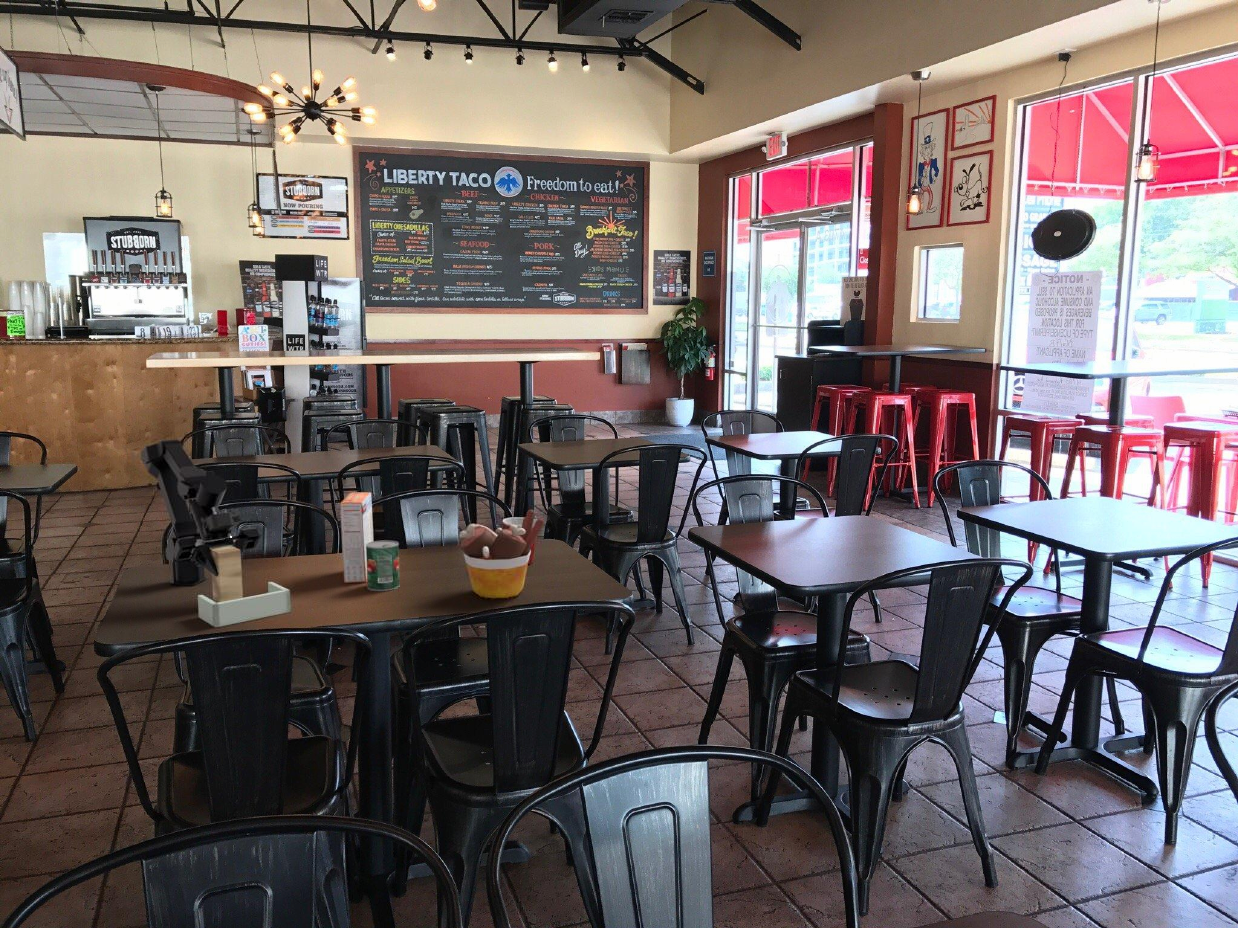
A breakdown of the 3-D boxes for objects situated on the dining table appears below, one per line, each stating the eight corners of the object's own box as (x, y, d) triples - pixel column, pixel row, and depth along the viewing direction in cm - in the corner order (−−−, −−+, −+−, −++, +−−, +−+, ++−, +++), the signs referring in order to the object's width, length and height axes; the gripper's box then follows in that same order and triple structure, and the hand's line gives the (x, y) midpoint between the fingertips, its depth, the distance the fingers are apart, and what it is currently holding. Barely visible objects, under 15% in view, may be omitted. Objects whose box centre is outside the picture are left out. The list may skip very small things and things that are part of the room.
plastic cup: (540, 568, 260) (540, 524, 258) (500, 568, 260) (499, 524, 259) (544, 558, 271) (544, 516, 269) (505, 558, 271) (505, 515, 269)
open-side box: (198, 617, 217) (197, 595, 216) (273, 602, 228) (272, 581, 228) (215, 627, 210) (214, 605, 209) (291, 611, 221) (290, 590, 220)
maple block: (213, 599, 226) (210, 549, 224) (234, 595, 230) (231, 545, 228) (221, 604, 223) (218, 553, 221) (243, 600, 226) (240, 549, 224)
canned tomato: (361, 587, 242) (359, 543, 240) (388, 580, 247) (386, 538, 246) (379, 593, 236) (377, 549, 235) (406, 586, 242) (405, 543, 240)
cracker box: (352, 569, 259) (349, 491, 255) (375, 568, 259) (372, 491, 256) (341, 583, 245) (338, 501, 242) (366, 583, 245) (363, 501, 242)
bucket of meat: (472, 607, 225) (470, 523, 222) (450, 589, 240) (448, 510, 237) (551, 596, 234) (551, 515, 231) (525, 579, 249) (525, 503, 246)
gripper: (174, 503, 219) (194, 560, 213) (255, 494, 232) (277, 547, 225) (164, 532, 226) (184, 588, 220) (244, 521, 239) (265, 573, 232)
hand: (228, 573), depth 224 cm, fingers closed on maple block, 5 cm apart
